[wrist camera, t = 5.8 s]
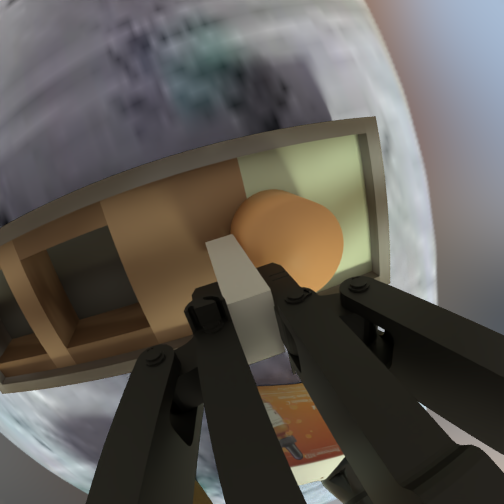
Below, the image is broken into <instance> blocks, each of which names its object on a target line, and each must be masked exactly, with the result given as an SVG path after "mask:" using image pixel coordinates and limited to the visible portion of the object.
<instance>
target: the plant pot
mask: <svg viewBox="0 0 504 504" xmlns="http://www.w3.org/2000/svg"><path fill="white" fill-rule="evenodd" d="M193 504H213V503H212V501H211V500H210V498H209V497H208V496H207V494H206V493H205V491H204V490H203V489H202V487H201V486H200V484H199V483H198V482H197V481H196V480H195V486H194V496H193Z"/></svg>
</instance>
